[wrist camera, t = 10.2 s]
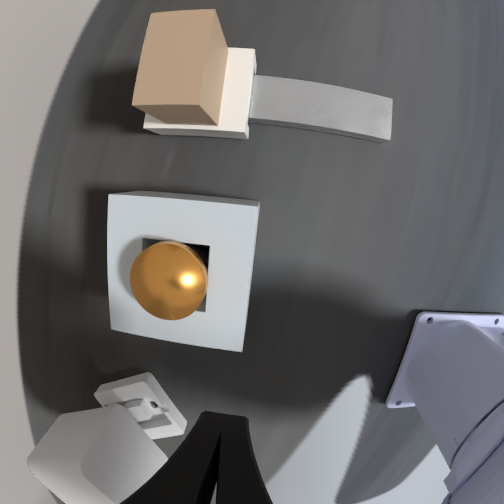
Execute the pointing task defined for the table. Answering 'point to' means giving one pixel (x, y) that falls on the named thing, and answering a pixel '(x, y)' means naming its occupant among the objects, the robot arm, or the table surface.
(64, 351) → the table surface
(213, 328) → the grey square-hole block
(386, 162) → the table surface
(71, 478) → the security camera
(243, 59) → the carriage
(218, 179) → the table surface
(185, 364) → the table surface
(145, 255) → the gold round knob
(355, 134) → the rail
